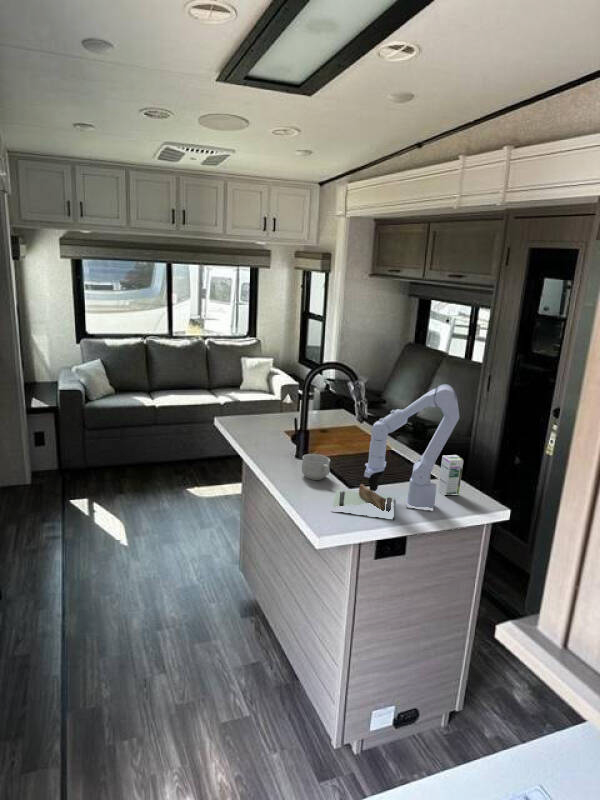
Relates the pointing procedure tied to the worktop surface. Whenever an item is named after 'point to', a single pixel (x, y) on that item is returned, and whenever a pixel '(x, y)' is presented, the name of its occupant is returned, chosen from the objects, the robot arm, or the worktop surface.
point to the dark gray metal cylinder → (342, 494)
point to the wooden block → (372, 497)
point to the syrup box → (450, 474)
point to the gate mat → (352, 498)
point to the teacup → (315, 466)
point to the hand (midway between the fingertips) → (373, 490)
